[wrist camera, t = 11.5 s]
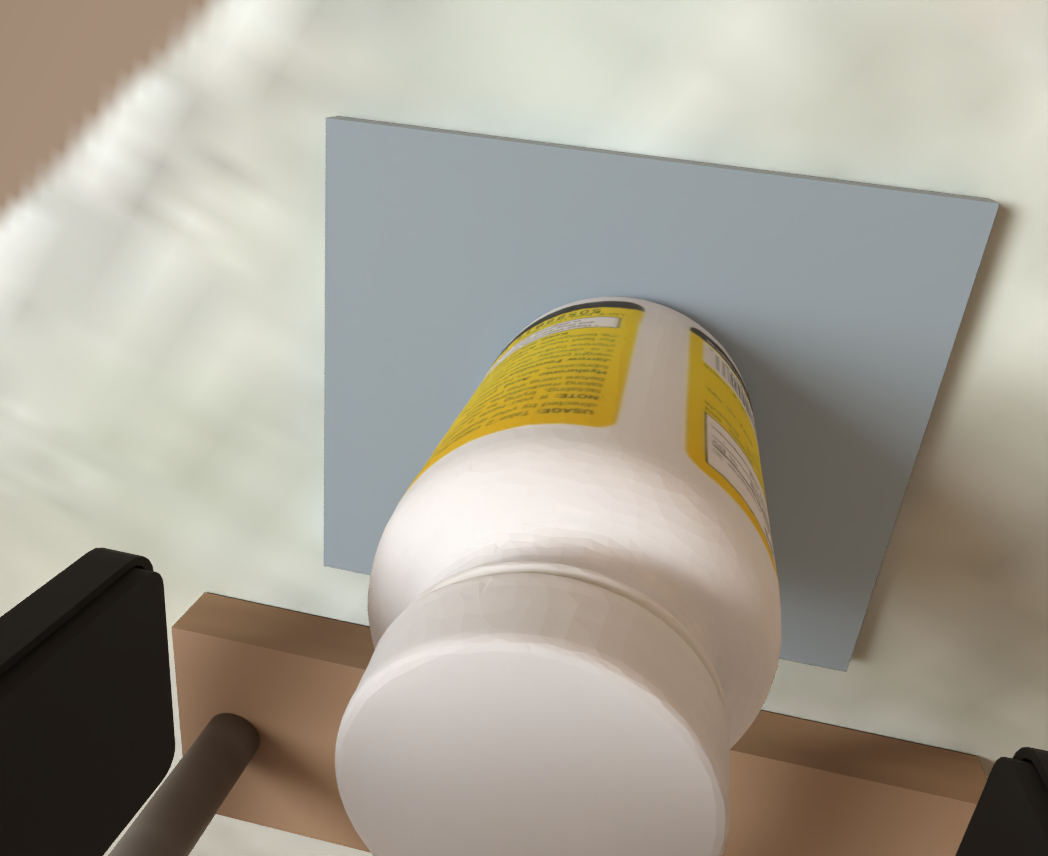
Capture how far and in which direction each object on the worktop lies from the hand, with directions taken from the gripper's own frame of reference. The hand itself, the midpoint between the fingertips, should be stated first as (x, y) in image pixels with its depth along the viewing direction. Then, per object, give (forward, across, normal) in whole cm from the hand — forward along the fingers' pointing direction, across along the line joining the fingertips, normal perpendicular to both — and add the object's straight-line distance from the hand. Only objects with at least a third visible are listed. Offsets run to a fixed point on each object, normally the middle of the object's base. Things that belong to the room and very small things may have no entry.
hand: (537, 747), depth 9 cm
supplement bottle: (+9, 0, -1) cm, 9 cm away
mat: (+9, 0, -1) cm, 9 cm away
